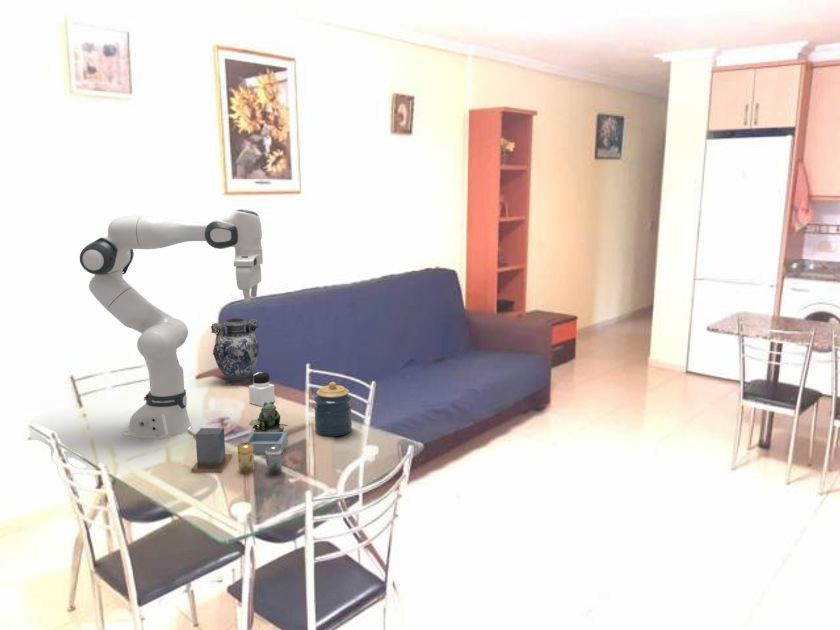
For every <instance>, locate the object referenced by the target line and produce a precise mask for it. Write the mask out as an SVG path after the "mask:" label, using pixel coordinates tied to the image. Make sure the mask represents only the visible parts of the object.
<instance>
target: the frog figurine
mask: <svg viewBox="0 0 840 630" xmlns="http://www.w3.org/2000/svg"><path fill="white" fill-rule="evenodd" d="M248 425H249V426H252V429H253V432H284V427H289V425H288V424H283V423H281V415H280V414H279V412H278V411H277V407H276V405H275V404H274V402H272V401H271V402H270V403H269V404H268V403H267V402H265V403H264V405H263V406H262V408H261V409H260V412H259V415H258V418H257V419H252V420H251V421H250V422H249V423H248ZM257 425H259V426H257Z"/></svg>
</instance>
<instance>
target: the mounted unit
mask: <svg viewBox="0 0 840 630" xmlns="http://www.w3.org/2000/svg"><path fill="white" fill-rule="evenodd" d="M195 445H196V446H195V447H196V462H195V464H194V465H193V466H192V468H191V469H190V471H191V473H223V471H224V470H225V468H226V467H227V465H228V464H229V463H230V461H231V460H232V458H233V453H232V454H231V453H230V454H229V453H226V442H225V428H224V427H217V428H216V427H200V429H198V431H197V432H196V433H195Z"/></svg>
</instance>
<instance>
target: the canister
mask: <svg viewBox="0 0 840 630" xmlns="http://www.w3.org/2000/svg"><path fill="white" fill-rule="evenodd" d="M315 393H316V396H314V398H313V400H314V402H315V405H314V407H313V409H314V430H315V433H317V434H318V435H320V436H324V437H338V436H343V435H346V434H349V433H350V432H351V430H352V426H353V423H352V404H351V400H352V396H351V395H350V394H349V393H350V390H349V389H348V388H346V387H345V386H344V385H339V384H337V383H336V382H335V381H331V382H329V383H328V385H324V386H322V387H320V388H319V389H317V390H316V392H315Z"/></svg>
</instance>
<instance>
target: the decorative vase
mask: <svg viewBox="0 0 840 630" xmlns="http://www.w3.org/2000/svg"><path fill="white" fill-rule="evenodd" d="M258 324H259V321H258V320H257V319H255V318H253V319H250V320H249V321H246V320H245V319H243V318H229V319H228V318H227V319H226V320H225V322H224V323H223V325H222V324H221V323H219V322H214V323H213V324H211V326H210V329H211V334H215V342H214V345H213V349H212V355H213V357H214V359H215V362H216V365H217V368H218V369H219V371H220V372H221V373H222V374H223V376H224V377H226V378H228V379H226V380H225V384H226V385H228V384H229V385H228V386H242V385H247V384H248V383H250V382H251V378H249V376H250V375H251V374H252V372H254V369H256V365H257V362H258V359H259V353H260V352H259V348H260V347H259V346H260V345H259V343H258V341H257V336H256V332H255V331H256V329H258V328H259V326H258ZM224 326H225V327H226V328H227V329H225V327H224Z"/></svg>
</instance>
